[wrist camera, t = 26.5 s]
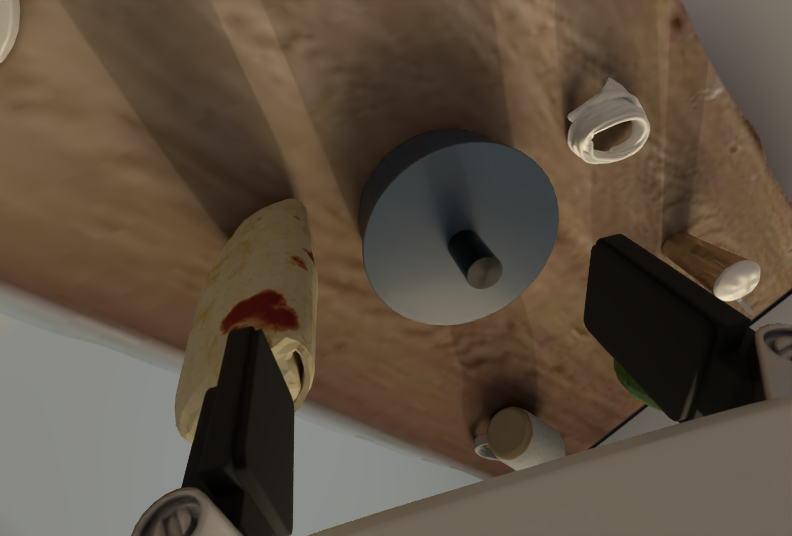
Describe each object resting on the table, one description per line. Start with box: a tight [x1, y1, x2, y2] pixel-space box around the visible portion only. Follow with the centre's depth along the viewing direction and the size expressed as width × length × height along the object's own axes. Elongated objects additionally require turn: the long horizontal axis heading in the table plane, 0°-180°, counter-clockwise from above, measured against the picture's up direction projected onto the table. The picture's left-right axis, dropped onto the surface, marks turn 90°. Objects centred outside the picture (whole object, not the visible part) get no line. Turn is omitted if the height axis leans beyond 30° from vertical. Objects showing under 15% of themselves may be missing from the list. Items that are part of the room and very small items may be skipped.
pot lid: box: [362, 140, 559, 325], centre depth 33 cm, size 17×17×6 cm
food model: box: [175, 198, 318, 443], centre depth 29 cm, size 10×7×20 cm
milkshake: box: [662, 231, 760, 315], centre depth 43 cm, size 5×5×10 cm
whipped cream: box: [567, 77, 650, 164], centre depth 36 cm, size 8×7×5 cm
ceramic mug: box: [474, 407, 565, 471], centre depth 55 cm, size 11×8×8 cm
